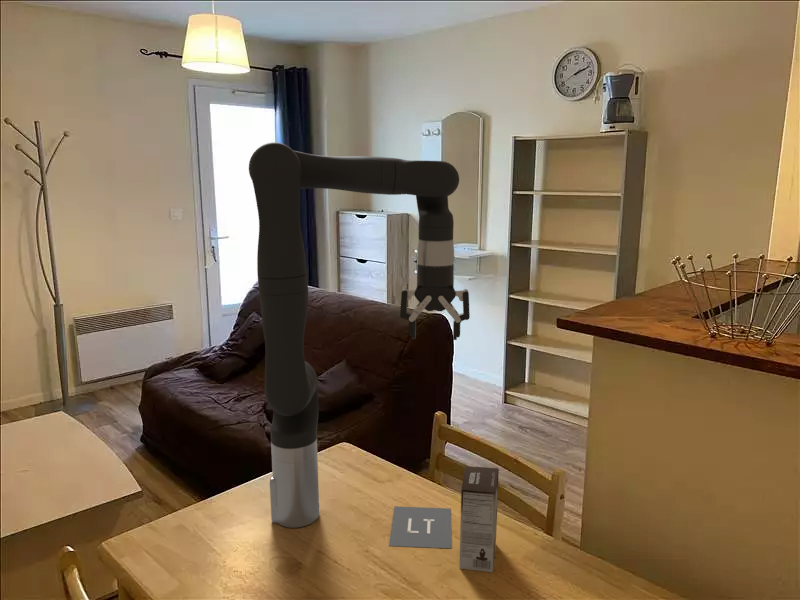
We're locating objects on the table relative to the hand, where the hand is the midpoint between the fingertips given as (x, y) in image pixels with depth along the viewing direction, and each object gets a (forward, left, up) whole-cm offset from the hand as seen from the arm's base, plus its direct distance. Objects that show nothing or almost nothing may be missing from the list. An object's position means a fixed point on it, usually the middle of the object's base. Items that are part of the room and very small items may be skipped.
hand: (434, 338), depth 128 cm
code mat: (-2, -12, -36) cm, 38 cm away
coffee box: (+9, -21, -36) cm, 43 cm away
